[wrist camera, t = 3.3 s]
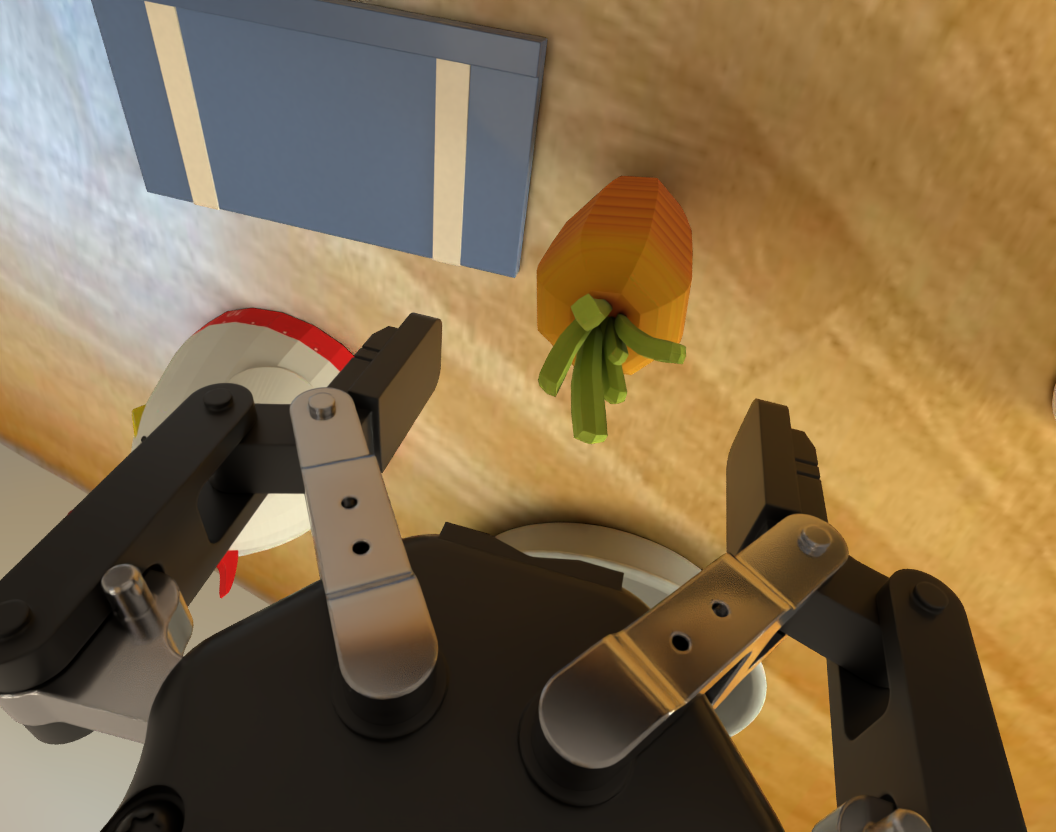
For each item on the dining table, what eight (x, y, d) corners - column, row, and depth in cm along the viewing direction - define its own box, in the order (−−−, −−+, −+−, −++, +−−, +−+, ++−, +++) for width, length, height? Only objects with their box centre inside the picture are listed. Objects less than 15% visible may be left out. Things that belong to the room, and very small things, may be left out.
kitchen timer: (244, 263, 34) (4, 433, 23) (431, 419, 38) (307, 631, 26) (169, 386, 42) (-34, 556, 31) (329, 504, 46) (201, 692, 35)
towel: (91, -49, 26) (68, -48, 25) (547, 37, 23) (540, 42, 22) (157, 187, 32) (141, 194, 31) (519, 271, 30) (512, 282, 29)
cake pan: (593, 445, 36) (579, 500, 32) (837, 659, 43) (847, 723, 39) (386, 577, 50) (361, 624, 47) (591, 720, 57) (583, 770, 54)
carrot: (617, 109, 24) (525, 269, 13) (726, 164, 25) (729, 368, 13) (568, 218, 28) (461, 421, 16) (665, 265, 28) (625, 498, 17)
